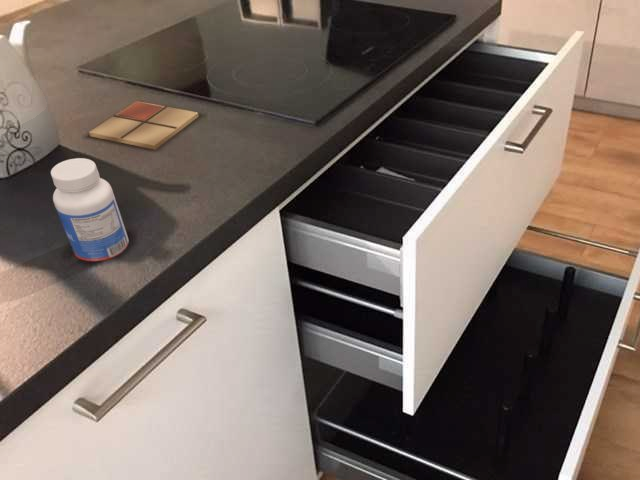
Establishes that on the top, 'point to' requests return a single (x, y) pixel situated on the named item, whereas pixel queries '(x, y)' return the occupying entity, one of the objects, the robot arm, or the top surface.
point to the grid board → (144, 125)
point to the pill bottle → (88, 210)
